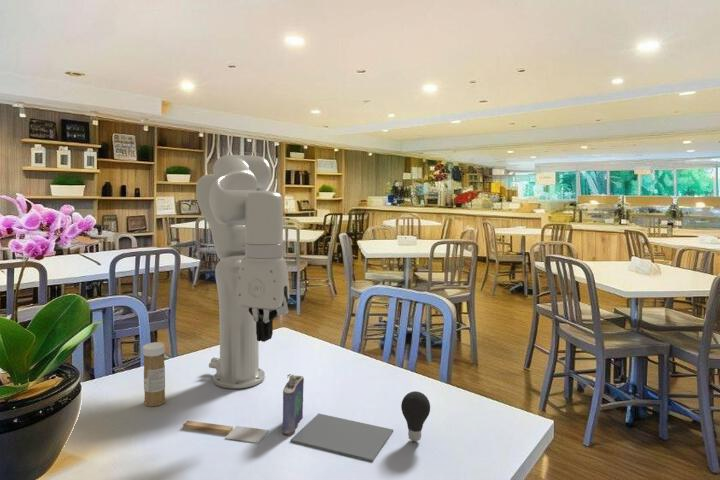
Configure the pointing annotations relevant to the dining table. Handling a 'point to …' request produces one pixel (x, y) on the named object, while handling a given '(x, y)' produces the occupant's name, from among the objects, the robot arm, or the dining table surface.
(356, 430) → the slate board
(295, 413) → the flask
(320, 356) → the dining table surface
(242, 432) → the turner
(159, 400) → the sprinkles bottle
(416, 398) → the light bulb
